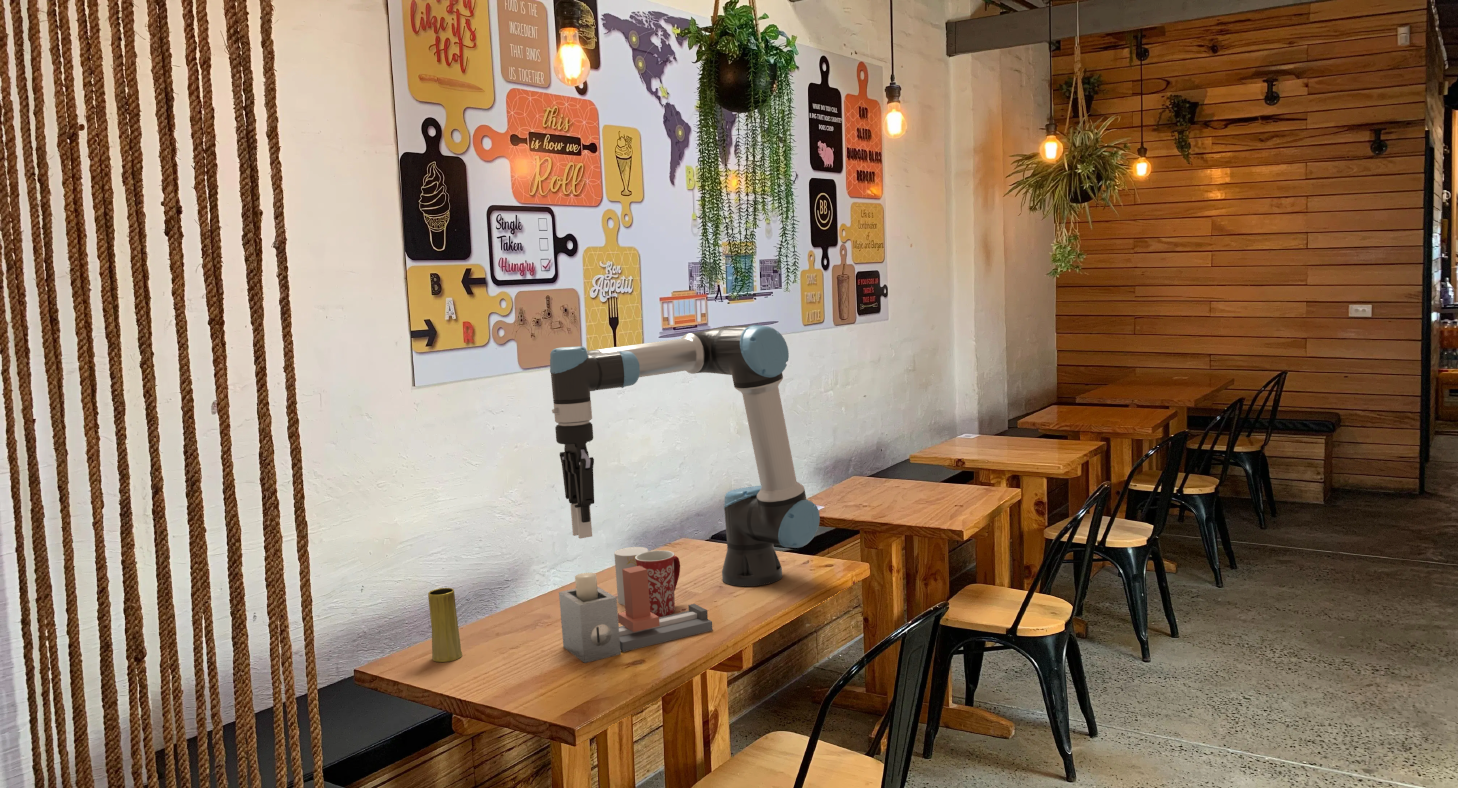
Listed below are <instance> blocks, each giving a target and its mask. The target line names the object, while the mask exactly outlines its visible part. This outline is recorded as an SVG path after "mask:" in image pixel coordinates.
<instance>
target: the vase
mask: <svg viewBox="0 0 1458 788" xmlns="http://www.w3.org/2000/svg"><path fill="white" fill-rule="evenodd" d="M455 595H456V594H455V589H454V588H452V587H441V588H440V587H439V588H435V589H432V590H430V591H429V592H428V594H427V596H428V607H429V617H430V626H431V650H432V651H431V655H432V657H431V658H432V661H433V662H436V663H450V662H454V661H456V660H459V659H461V658H462V656H463V652H462V646H461V638H460V630H459V629H460V628H459V624H458V623H459V622H458V614H457V613H458V612H457V608H456V607H457V605H456V596H455Z"/></svg>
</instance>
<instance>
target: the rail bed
mask: <svg viewBox="0 0 1458 788" xmlns="http://www.w3.org/2000/svg"><path fill="white" fill-rule="evenodd" d="M708 617H709V616H708V610H707V609H706V608H704V607H702V606H700V605H697V604H696V603H691V604H688V610H687V611H682V612H679V613H678V612H677V613H672V614H670V615H667V616H662V617H659V625H660V626H657V627H653V628H649V629H644V630H640V631H636V632H633V631H631V630H630V629H628V628H626V627H625V626H623V625H619V637H620V650H621V651H622V653H624V652H629V651H632V650H637V649H641V648H646V647H649V646H652V645H653V646H654V645H656V644H657V645H658V644H661V643H666V642H669V641H670V642H671V641H674V640H678V639H682V638H687V637H691V636H694V635H695V636H696V635H699V634H703V633H707V632H708V633H709V632H711V631H713V621H712V620H711V619H708Z"/></svg>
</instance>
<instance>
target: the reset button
mask: <svg viewBox="0 0 1458 788" xmlns="http://www.w3.org/2000/svg"><path fill="white" fill-rule="evenodd" d="M574 581H575V589H576V595H577V598H578V599H579V600H581V601H582V602H587V601H592V600H597V599H598V589H597V587H598V578H597V573H595V572H582V573H578V574H575V575H574Z"/></svg>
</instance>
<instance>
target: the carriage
mask: <svg viewBox="0 0 1458 788" xmlns="http://www.w3.org/2000/svg"><path fill="white" fill-rule="evenodd" d="M622 572H623V585H624V598H625V605H624V608H625V611H623V612H619V613H618V624H620V625H621V626H625V627H626V628H628V629H630V630H631V631H633V632H636V631H640V630H644V629H649V628H653V627H657V626H660V625H659V617H658V616H657V615H655V614H653V613H651V612H650V600H649V586H648V573H647V569H645V568H643V567H641V566H635V567H630V568H625V569H622Z"/></svg>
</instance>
